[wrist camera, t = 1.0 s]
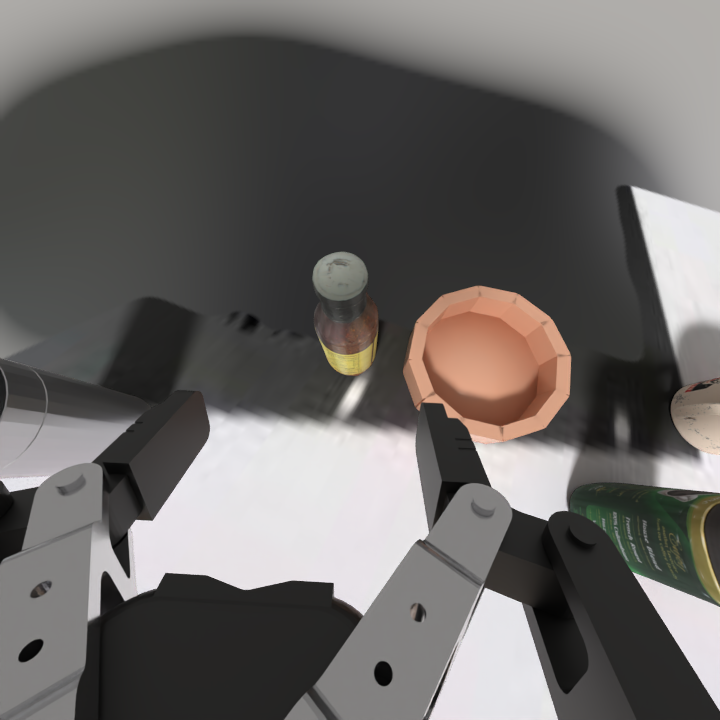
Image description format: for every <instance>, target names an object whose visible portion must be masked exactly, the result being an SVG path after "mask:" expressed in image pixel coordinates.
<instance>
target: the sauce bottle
mask: <svg viewBox="0 0 720 720" xmlns="http://www.w3.org/2000/svg"><path fill="white" fill-rule="evenodd" d="M312 282H313V285H314V290H315V292H316V295H317V297H318V298H319V299H320V302H319V304H318V305H317V307H316V310H315V313H314V326H315V330H316V333H317V335H318V338H319V340H320V342H321V344H322V347H323V349H324V352H325V354H326V357H327V359H328V362H329V363H330V365H331V366H332V367H333V368H334V369H335V370H336V371H337V372H339V373H341V374H345V375H353V376H356V375H359V374H361V373H363V372H364V371H366V370H367V369H368V368H369V367H370V366H371V365H372V363H373V360H374V358H375V354H376V346H377V336H378V326H379V325H378V310H377V306H376V304H375V303H374V302H373V300H372V299H371V297H370V296H369V295H368V293H367V289H368V282H369V281H368V271H367V268H366V266H365V264H364V262H363V261H362V260H361V259H360V258H358V257H357V256H355V255H353V254H351V253H348V252H347V253H346V252H336V253H332V254H330V255H327V256H325V257H323V258H322V259H321V260H319V262H318V263H317V264H316V266H315V268H314V271H313V278H312Z"/></svg>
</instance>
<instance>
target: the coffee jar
mask: <svg viewBox="0 0 720 720" xmlns="http://www.w3.org/2000/svg"><path fill="white" fill-rule="evenodd" d="M570 512H573V513H577V514H580V515H582V516H584V517H586V518H588V519H590V520H591V521H593V522H594V523H596V524H597V525H598V526H600V527H601V528H602V529H603V530H604V531H605V532H606V533H607V534H608V536H609V537H610V538H611V540H612V541H613V543H614V544H615V546H616V548H617V549H618V551H619V552H620V554H621V555H622V557H623V559H624V560H625V562H626V563H627V565H628V567H629V568H630V570H631V571H632V572H634V573H637V574H639V575H642V576H644V577H647V578H650V579H652V580H655V581H657V582H660V583H662V584H665V585H667V586H670V587H672V588H675V589H677V590H680V591H682V592H685V593H687V594H690V595H693V596H695V597H697V598H700V599H702V600H705V601H708V602H710V603H712V604H715V605H717V606H719V607H720V493H713V492H704V491H693V490H683V489H673V488H662V487H653V486H644V485H635V484H624V483H594V484H588V485H583V486H580V487H578V488H577V489H576V490H575V491H574V492H573V494H572V496H571V499H570Z"/></svg>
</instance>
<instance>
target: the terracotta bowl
mask: <svg viewBox="0 0 720 720" xmlns="http://www.w3.org/2000/svg"><path fill="white" fill-rule="evenodd" d="M549 319H550V317H549V316H548V315H546V314H545V313H544V312H542V311H541V310H540V309H538V308H537V307H536V306H534V305H533V304H531V303H530V302H529V301H528V300H526V299H525V298H523V297H522V296H521V295H519V294H518V295H517V293H513V292H508V291H503V290H499V289H494V288H489V287H484V286H479V287H478V286H474V287H470V288H467V289H463V290H459V291H456V292H452V293H448V294H445V295H442V296H441V297H440V298H439V299H438V300H437V301H436V302H435V303H434V304H433V305H432V306H431V307H430V308H429V309H428V310H427V311H426V312H425V313H424V314H423V315H422V316H421V317H420V318H419V319H418V320H417V321H416V323H415V326H414V328H413V331H412V333H411V335H410V338H409V343H408V347H407V352H406V357H405V362H404V367H403V374H404V377H405V379H406V382H407V385H408V388H409V391H410V394H411V397H412V399H413V402H414V405H415V406H417V407H416V408H417V409H418V410H419V411H420V406H421V403H422V402H425V403H442V404H443V405H444V407H445V410H446V413H447V416H448V418H458V419H459V420H460V421H461V422H462V423H463V424H464V425H465V426H466V427H467V428H468V431H469V433H470V436H471V438H472V441H475V442H479V443H483V444H488V443H495V442H503V441H507V440H510V439H513V438H516V437H520V436H523V435H526V434H529V433H532V432H535V431H538V430H541V429H544V428H546V426H547V425H548V424H549V422H550V421H551V420H552V418H553V417H554V416H555V414H556V413H557V412H558V410H559V409H560V408H561V406H562V405H563V404H564V402H565V401H566V400H567V398H568V397H569V396H568V395H570V370H571V356H568V355H570V352H569V350H568V349H567V347H566V345H565V343H564V341H563V339H562V337H561V335H560V333H559V331H558V330H557V328H556V326H555V324H554V322H553V320H552V319H551V320H549Z"/></svg>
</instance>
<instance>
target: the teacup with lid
mask: <svg viewBox="0 0 720 720" xmlns="http://www.w3.org/2000/svg"><path fill="white" fill-rule="evenodd" d="M671 416H672V420H673V422H674V425H675V427H676V428H677V430H678V432H679V433H680V434H681V435H682V437H683V438H684V439H685V440H686V441H687V442H689V443H690V444H691V445H692V446H694V447H696V448H697V449H699V450H701V451H704V452H706V453H710V454H714V455H720V378H717V379H712V380H708V381H704V382H699V383H695V384H691V385H687V386H685V387H683V388H681V389H680V390H679V391H677V393H676V394H675V395H674V397H673V399H672V402H671Z"/></svg>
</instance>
